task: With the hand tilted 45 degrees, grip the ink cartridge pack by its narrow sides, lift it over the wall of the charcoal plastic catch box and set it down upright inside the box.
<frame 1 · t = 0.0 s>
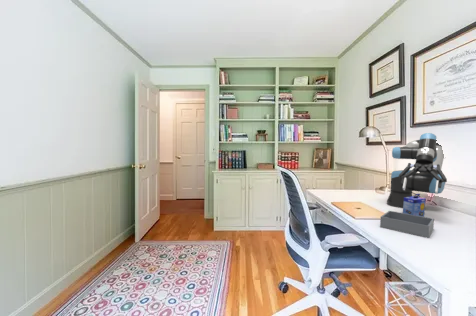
hand: (419, 190, 122), 15 cm above the table, tool tilted 35°, fingers open, 13 cm apart
catch box: (406, 228, 109), on the table
ink cartridge box: (413, 221, 121), on the table
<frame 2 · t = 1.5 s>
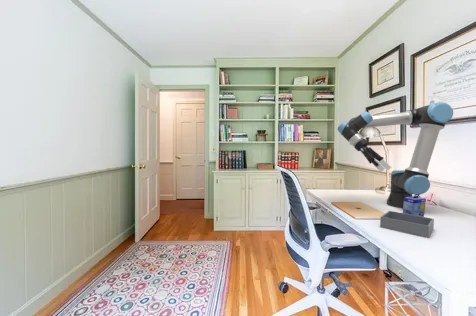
hand: (386, 169, 130), 26 cm above the table, tool tilted 45°, fingers open, 13 cm apart
nothing on the table moved.
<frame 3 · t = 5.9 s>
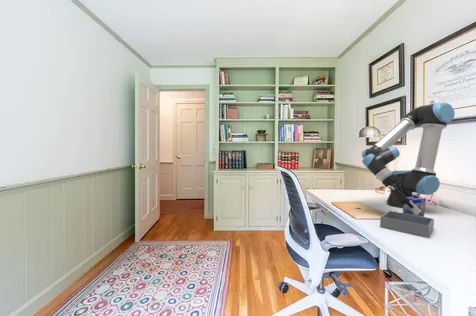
hand: (420, 211, 118), 6 cm above the table, tool tilted 45°, fingers closed on ink cartridge box, 11 cm apart
ink cartridge box: (413, 221, 121), on the table, touching gripper
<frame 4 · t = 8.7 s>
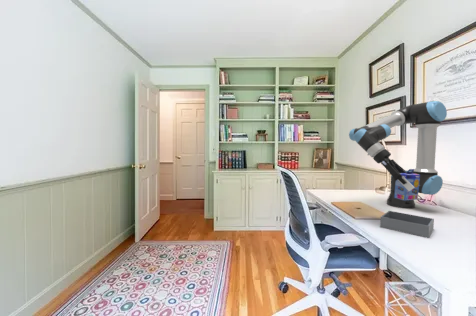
hand: (414, 188, 108), 19 cm above the table, tool tilted 45°, fingers closed on ink cartridge box, 11 cm apart
ink cartridge box: (406, 199, 111), point 13 cm above the table, touching gripper
when the fingers open (8 cm above the table, at t = 11.4 s): ink cartridge box drops 2 cm, resting on catch box.
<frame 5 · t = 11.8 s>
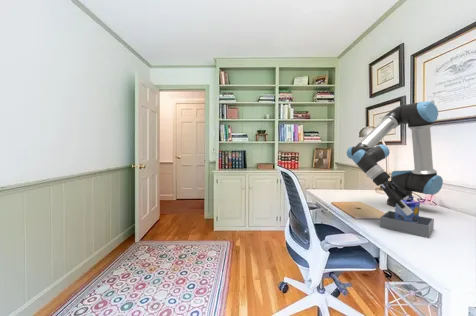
hand: (413, 211, 107), 9 cm above the table, tool tilted 45°, fingers open, 13 cm apart
ink cartridge box: (406, 226, 109), point 1 cm above the table, touching catch box
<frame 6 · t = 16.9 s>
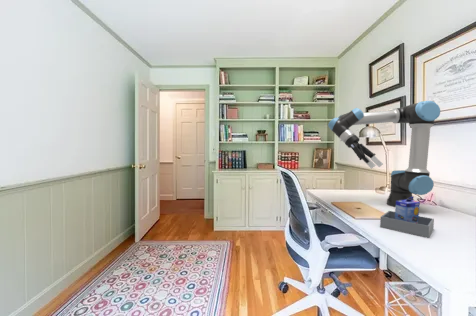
hand: (377, 166, 126), 28 cm above the table, tool tilted 45°, fingers open, 13 cm apart
nothing on the table moved.
at the end: ink cartridge box inside the target area on the catch box (0.1 cm from its centre), point 0.6 cm above the catch box's base; ink cartridge box tilted 0°; the gripper is holding nothing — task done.
